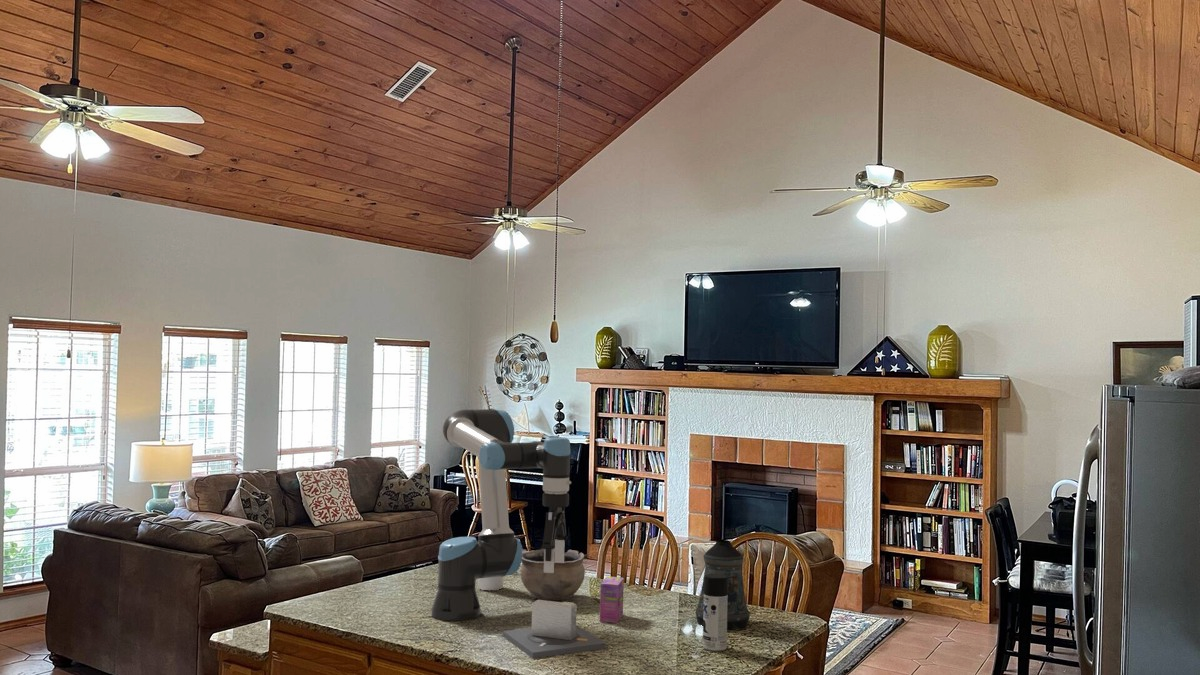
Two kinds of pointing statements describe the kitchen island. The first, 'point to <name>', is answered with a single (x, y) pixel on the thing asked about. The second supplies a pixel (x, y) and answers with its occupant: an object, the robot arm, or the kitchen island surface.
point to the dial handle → (554, 619)
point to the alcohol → (490, 583)
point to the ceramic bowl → (552, 575)
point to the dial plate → (552, 643)
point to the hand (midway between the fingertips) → (554, 567)
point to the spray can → (715, 612)
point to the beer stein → (728, 563)
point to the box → (611, 599)
